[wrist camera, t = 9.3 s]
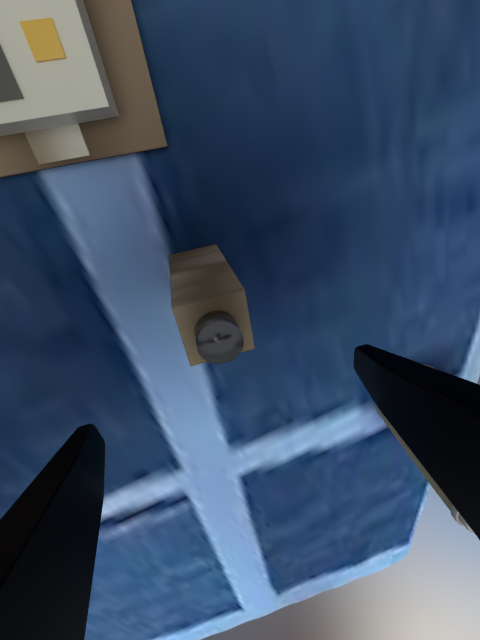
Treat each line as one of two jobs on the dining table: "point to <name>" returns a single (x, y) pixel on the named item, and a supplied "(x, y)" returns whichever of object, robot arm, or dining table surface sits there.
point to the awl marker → (209, 306)
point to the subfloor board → (106, 134)
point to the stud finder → (50, 67)
